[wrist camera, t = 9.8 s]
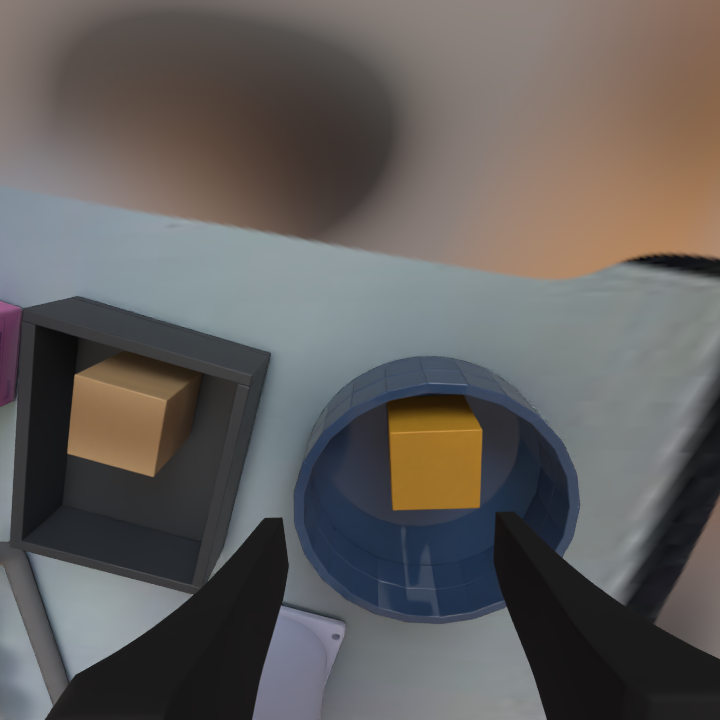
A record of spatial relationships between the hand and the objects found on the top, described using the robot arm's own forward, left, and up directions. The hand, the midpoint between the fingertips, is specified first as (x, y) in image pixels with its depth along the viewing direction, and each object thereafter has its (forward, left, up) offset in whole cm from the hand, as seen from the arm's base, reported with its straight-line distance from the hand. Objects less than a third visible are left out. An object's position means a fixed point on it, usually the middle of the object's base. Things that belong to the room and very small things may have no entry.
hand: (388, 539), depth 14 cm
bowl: (-2, -3, -9) cm, 10 cm away
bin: (-5, +12, -9) cm, 16 cm away
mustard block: (0, -2, -9) cm, 9 cm away
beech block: (-2, +12, -9) cm, 15 cm away
